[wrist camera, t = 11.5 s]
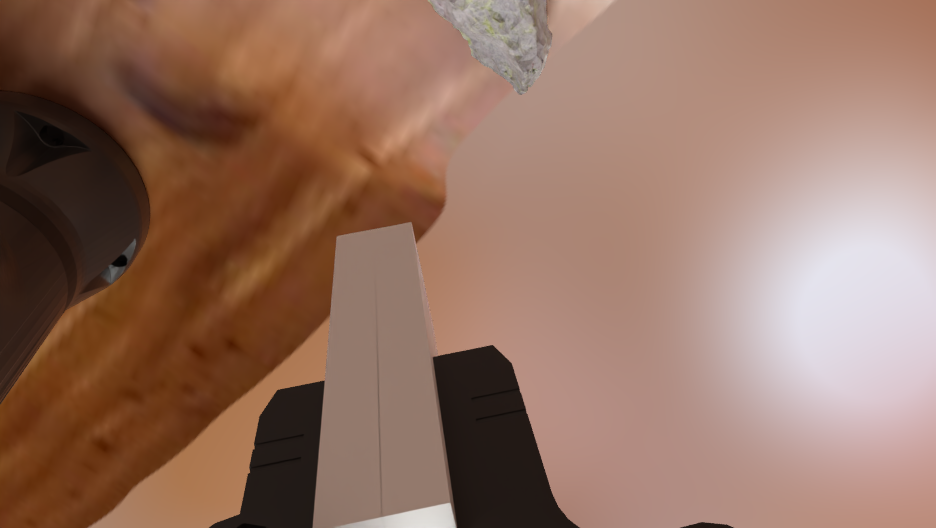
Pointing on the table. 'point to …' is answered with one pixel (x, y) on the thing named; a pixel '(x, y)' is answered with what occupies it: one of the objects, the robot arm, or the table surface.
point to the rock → (503, 35)
